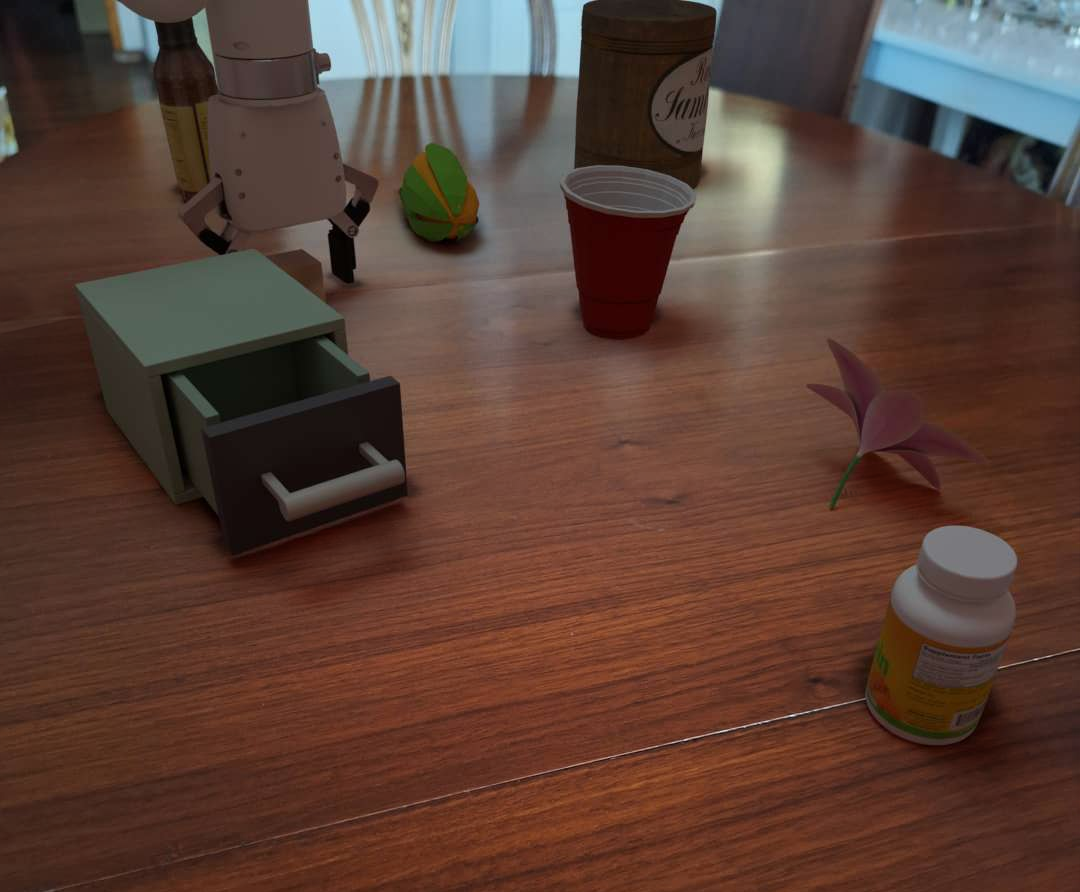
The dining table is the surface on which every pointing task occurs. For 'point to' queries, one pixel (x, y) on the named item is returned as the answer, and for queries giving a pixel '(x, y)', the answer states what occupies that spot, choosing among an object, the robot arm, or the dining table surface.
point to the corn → (439, 196)
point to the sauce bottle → (185, 102)
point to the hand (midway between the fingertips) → (294, 289)
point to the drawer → (287, 439)
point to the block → (302, 270)
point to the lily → (890, 420)
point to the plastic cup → (622, 242)
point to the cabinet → (189, 338)
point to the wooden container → (644, 85)
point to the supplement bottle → (943, 637)
